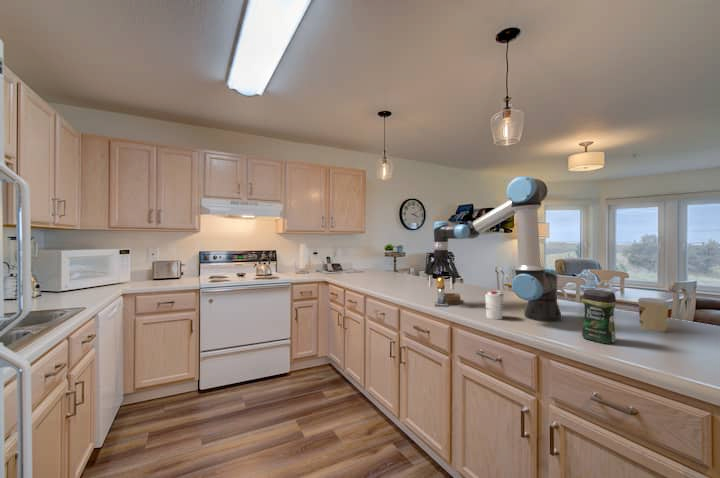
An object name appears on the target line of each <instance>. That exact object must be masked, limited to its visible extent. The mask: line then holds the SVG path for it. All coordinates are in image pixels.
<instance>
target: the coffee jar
mask: <svg viewBox="0 0 720 478" xmlns="http://www.w3.org/2000/svg"><path fill="white" fill-rule="evenodd" d="M616 300H617V299H616V294H615V292H612V291H606V290H601V289H592V288H591V289H586V290H584V291H583V296H582V302H583V305H584V314H583V315H584V316H583V324H582V332H581V336H582V338H583V339H586V340H588V339H589V341H592V342H595V341H596V342H597V343H600V342H601V344H605V343H606V344H610V343H611V344H614V343H615V342H616V328H615V316H614V313H615V307H616V304H617V301H616ZM613 342H614V343H613Z"/></svg>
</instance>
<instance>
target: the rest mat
mask: <svg viewBox="0 0 720 478" xmlns="http://www.w3.org/2000/svg"><path fill="white" fill-rule="evenodd" d="M434 307H443V308H445V307H446V308H448V307H449V304H448V302H445V304H438V301H434Z"/></svg>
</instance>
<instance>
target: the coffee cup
mask: <svg viewBox="0 0 720 478" xmlns="http://www.w3.org/2000/svg"><path fill="white" fill-rule="evenodd" d="M637 302H638V315H639V326H640V328H641V329H643V330H646V331H649V330H650V332H655V333H656V332H658V333H664V332H666V331H667V326H668V325H667V323H668V315H669V314H668V312H669V305H670V303H669V301H668V300H666V299H661V298H653V297H639V298H638V300H637Z"/></svg>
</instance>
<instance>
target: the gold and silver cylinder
mask: <svg viewBox="0 0 720 478" xmlns="http://www.w3.org/2000/svg"><path fill="white" fill-rule="evenodd" d="M445 281H446V280H445V277H436V286H437V287H436V288H437V302H438V304H445V298H444V293H445V288H446V287H445V286H446V284H445V283H446V282H445Z"/></svg>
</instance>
